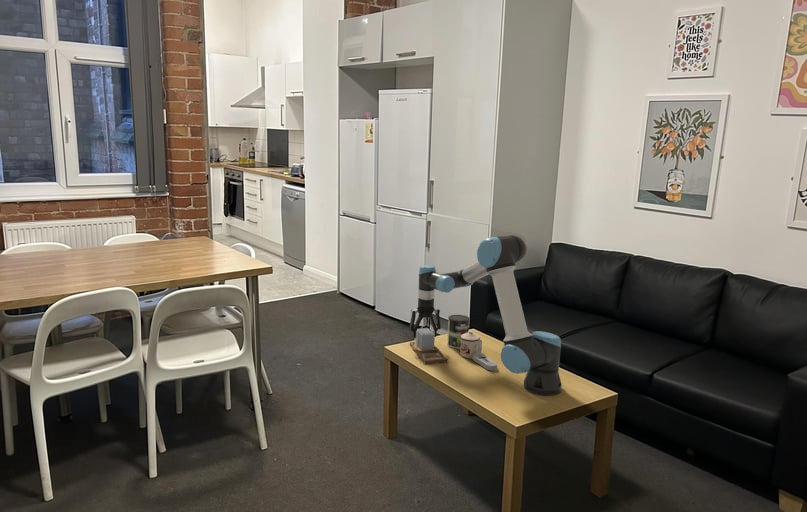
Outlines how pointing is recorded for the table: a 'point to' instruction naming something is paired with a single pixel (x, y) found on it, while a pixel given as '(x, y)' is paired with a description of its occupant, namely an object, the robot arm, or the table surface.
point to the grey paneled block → (425, 339)
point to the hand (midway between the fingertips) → (424, 343)
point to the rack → (430, 355)
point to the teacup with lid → (469, 344)
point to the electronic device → (483, 358)
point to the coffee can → (457, 329)
